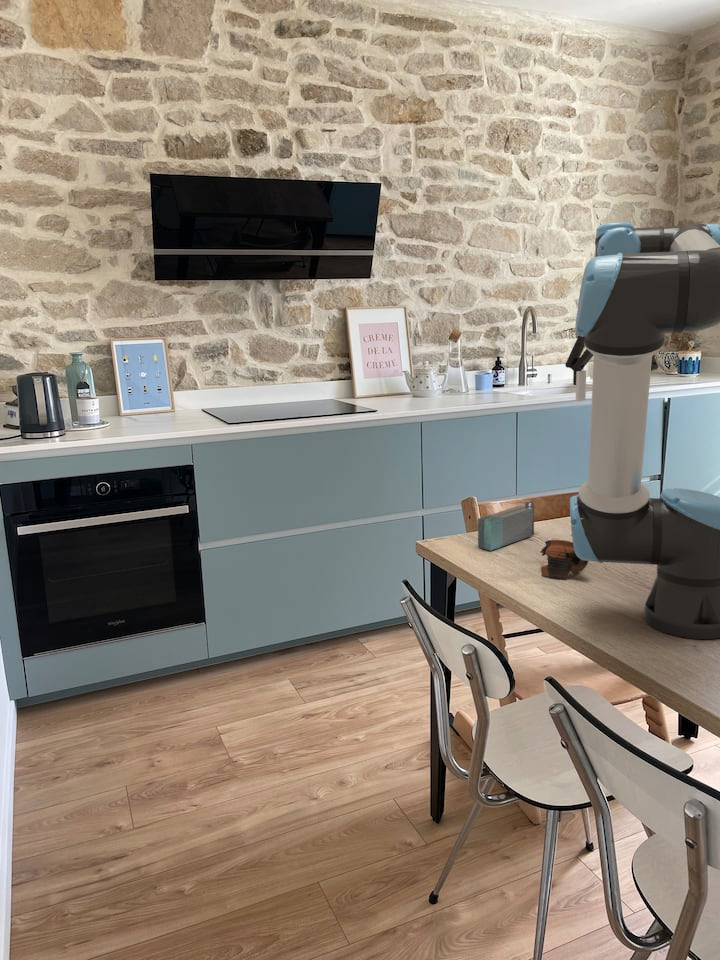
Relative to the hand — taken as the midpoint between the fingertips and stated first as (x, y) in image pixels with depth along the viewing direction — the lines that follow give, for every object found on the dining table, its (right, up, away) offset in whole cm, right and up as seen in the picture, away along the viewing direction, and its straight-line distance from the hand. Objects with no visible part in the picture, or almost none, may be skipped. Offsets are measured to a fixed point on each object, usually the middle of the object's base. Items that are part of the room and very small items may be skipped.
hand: (608, 402), depth 160 cm
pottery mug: (-10, -37, -2) cm, 38 cm away
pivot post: (-11, -30, +26) cm, 41 cm away
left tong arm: (-19, -31, +20) cm, 42 cm away
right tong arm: (-18, -32, +19) cm, 41 cm away
